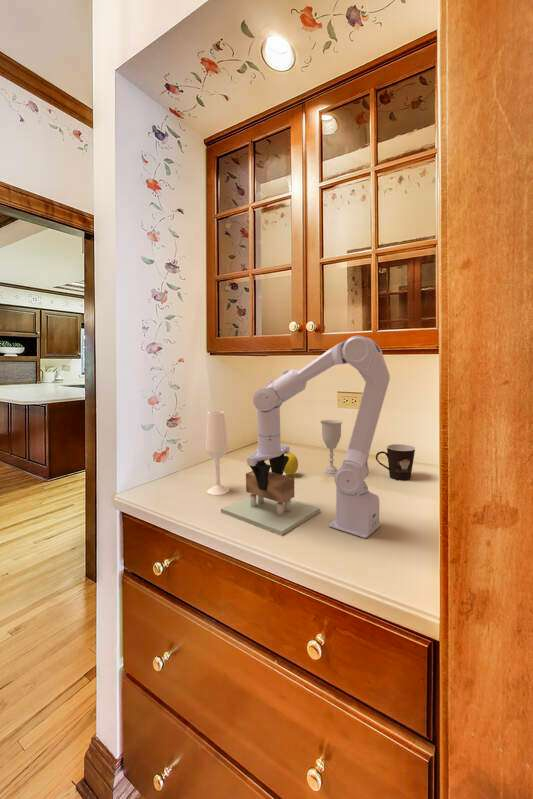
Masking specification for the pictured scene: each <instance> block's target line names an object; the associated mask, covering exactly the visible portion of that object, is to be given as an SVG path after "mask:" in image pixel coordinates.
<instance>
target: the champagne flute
mask: <svg viewBox="0 0 533 799" xmlns="http://www.w3.org/2000/svg"><path fill="white" fill-rule="evenodd" d="M206 419H207V420H206V435H205V436H206V437H205V451H206V454H208V456H209V457H210V458H212V459H213V460H215V485H213V486H211V487H210V488H209V489H207V493H208V494H209V495H213V496H220V495H221V496H222V495H225V494H228V493H229V492H230V488H229V487H226V486H224V485H222V484H221V475H220V474H221V472H220V468H221V467H220V459H222V458H223V457H224V456H225V455H226V454H227V452H228V450H229V444H228V443H229V442H228V434H227V428H226V419H225V412H224V411H222V410H213V411H212V410H211V411H208V412H207V415H206ZM227 492H228V493H227Z"/></svg>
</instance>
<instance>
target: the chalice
mask: <svg viewBox="0 0 533 799" xmlns="http://www.w3.org/2000/svg"><path fill="white" fill-rule="evenodd" d="M320 424H321V436H322V440H323V442H324V444H325V446H326V448H327V449H329V454H328V455H329V459H328V461H329V465H328V466H326V468H325V470H324V472H323V475H324V476H326V477H335V474H336V472H337V471H338V469H337V467H336V466H334V461H335V459H334V455H335V454H334V449H337V447H338V445H339V442H340V439H341V438H342V424H343V421H342V420H338V419H324V420H321V421H320Z"/></svg>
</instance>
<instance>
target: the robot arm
mask: <svg viewBox="0 0 533 799" xmlns="http://www.w3.org/2000/svg"><path fill="white" fill-rule="evenodd" d="M345 364H346V365H347V364H349V365H350V366H351V367H353V368H354V369H356V370H357V371H358V372H359V374H360V375H361V377H362V379H363V380H364V382H365V384H364V389H363V393H362V396H361V400H360V404H359V407H358V411H357V414H356V417H355V422H354V427H353V429H352V432H351V437H350V441H349V444H348V447H347V451H346V453H345V456H344V458H343V461H342V464H341V466H340V467H339V469H337V472H336V474H335V476H334V482H335V483H334V484H335V486H336V487H335V488H336V490H335V491H336V492H335V495H336V496H335V501H336V503H335V505H336V506H335V507H336V508H335V509H336V510H335V513H336V514H335V515H336V516H335V519H334V520H333V521H331V522H330V523H328V527H330V528H333V529H336V530H339V531H342V532H344V533H348V534H352V535H355V536H358V537H361V538H363V539H366V538H368V537H369V536H371V535H372V534H373V533H374V532H375V531H376V530H377V529H378V528H380V527H381V524H380V498H379V495H377V494H375V493H373V492H371V491H370V490H369V486H368V485H367V483H366V481H365V480H366V479H367V477H368V475H369V471H370V470H369V464H368V461H369V458H370V457H369V456H370V451H371V446H372V443H373V439H374V436H375V432H376V429H377V425H378V422H379V419H380V415H381V411H382V408H383V405H384V400H385V398H386V394H387V390H388V387H389V384H390V380H391V378H390V377H391V376H390V371H389V369H388V367H387V363H386V360H385V358H384V354H383V350H382V349H381V347H380V346H379V345H378V344H377V343H376V342H375V340H374V339H372V338H370V337H367V336H362V335H353V336H351V337H349V338H348V339H346V340H345V341H342V342H339V343H337V344H336V345H334V346H333V347H331V348H329V349H328V350H326V351H325V352H324V353H322V354H321V355H320V356H318V357H316V358H315V359H314V360H312V361H310V363H308V364H306V365H305V366H304V367H302V368H301V369H300V370H298V369H295V368H294V369H293V368H292V369H290V370H289V369H285V370H284V371H282V375H281V376H280V377H278V378H276V379H275V380H274V381H273V380H271V381H268V383H267V386H264V387H259V388H258V389H257V390H256V391H255V392H254V395H253V398H252V403H253V405H254V407H255V408H256V411H257V413H256V415H257V416H256V419H257V424H256V425H257V449H255V452H254V453H253V454H251V455H249V456H247V457H246V464H247V466H249V467H250V468H251V471H253V472H254V474H255V477H256V480H257V483H258V487H259V489H260V490H264V491H266V490H267V485H268V474H269V472H273V473H277V474H281V475H284V468H285V466H286V464H287V462H288V461H289V457H288V456H285V455H286V454H289V453H290V446H289V445H281V413H280V412H281V410H280V409H281V408H280V407H281V406H282V405H283V403H286V402H287V401H289V400H290V399H292V398H293V397H295V396H297V395H298V394H300V393H301V392H303V391H305V389H306V387H307V382H309V381H310V380H312V379H314V378H315V377H318V375H320V374H322V373H324V372H326V371H327V370H329V369H331V368H332V367H334V366H337V365H345ZM265 461H269V462H268V464H267V463H266V462H265ZM270 470H271V471H270Z"/></svg>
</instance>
